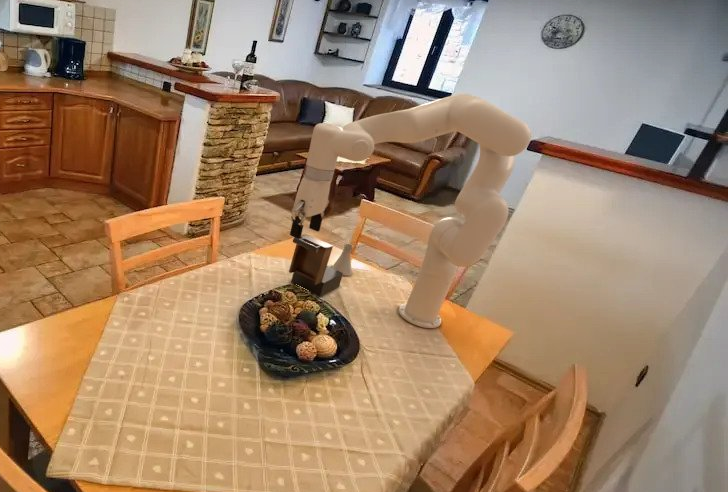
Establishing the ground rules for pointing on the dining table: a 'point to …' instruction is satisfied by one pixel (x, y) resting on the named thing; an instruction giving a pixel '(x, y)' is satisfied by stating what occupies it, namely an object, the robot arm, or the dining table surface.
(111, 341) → the dining table surface
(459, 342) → the dining table surface
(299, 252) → the basket
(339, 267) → the flask
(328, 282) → the stand
